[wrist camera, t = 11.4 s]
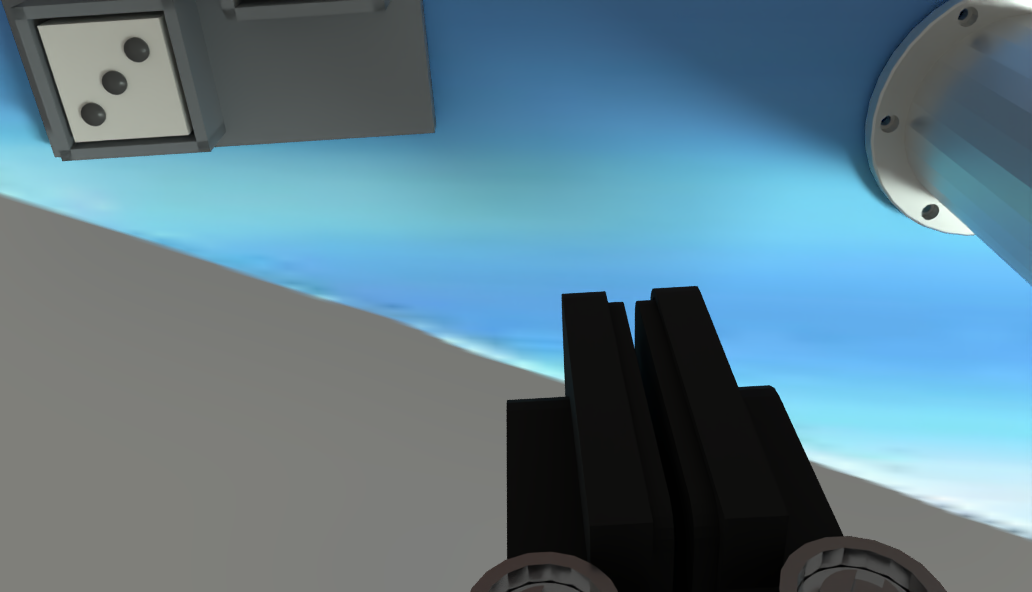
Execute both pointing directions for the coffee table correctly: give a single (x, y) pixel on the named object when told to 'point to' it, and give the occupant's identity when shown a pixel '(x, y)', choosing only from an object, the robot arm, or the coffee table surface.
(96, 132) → the button three
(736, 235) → the coffee table surface
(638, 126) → the coffee table surface
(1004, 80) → the robot arm
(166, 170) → the coffee table surface
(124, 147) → the button board
